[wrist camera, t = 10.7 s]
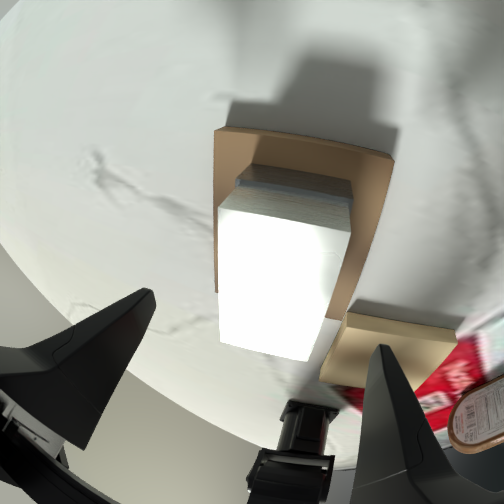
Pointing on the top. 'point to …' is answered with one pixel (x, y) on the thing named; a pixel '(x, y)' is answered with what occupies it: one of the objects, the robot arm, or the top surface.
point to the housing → (280, 257)
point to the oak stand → (393, 334)
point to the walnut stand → (315, 161)
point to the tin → (478, 418)
